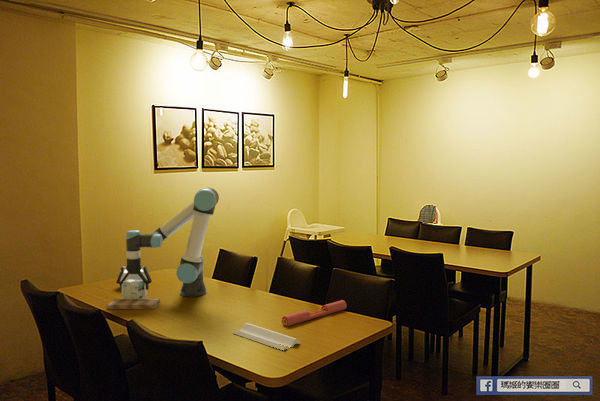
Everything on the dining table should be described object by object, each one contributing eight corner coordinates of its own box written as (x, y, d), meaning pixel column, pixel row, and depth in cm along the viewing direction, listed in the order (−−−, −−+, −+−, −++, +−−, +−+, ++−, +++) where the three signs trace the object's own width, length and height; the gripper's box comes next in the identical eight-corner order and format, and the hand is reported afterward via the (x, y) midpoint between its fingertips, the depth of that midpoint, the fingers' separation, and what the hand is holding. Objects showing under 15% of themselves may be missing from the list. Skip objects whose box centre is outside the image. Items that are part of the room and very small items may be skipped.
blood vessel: (288, 328, 231) (288, 317, 231) (281, 325, 235) (281, 315, 234) (346, 310, 260) (346, 301, 259) (339, 308, 263) (339, 299, 263)
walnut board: (160, 302, 269) (160, 298, 269) (155, 308, 258) (155, 304, 258) (114, 303, 268) (114, 299, 268) (107, 308, 257) (107, 304, 257)
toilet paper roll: (141, 290, 296) (141, 272, 295) (116, 289, 296) (116, 272, 295) (150, 283, 311) (149, 267, 310) (126, 283, 311) (125, 267, 310)
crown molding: (232, 335, 222) (232, 327, 222) (251, 328, 231) (251, 321, 231) (283, 352, 202) (283, 344, 202) (301, 344, 211) (301, 336, 211)
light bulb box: (146, 298, 276) (145, 280, 275) (138, 302, 270) (138, 283, 269) (130, 297, 280) (130, 278, 279) (122, 300, 273) (122, 281, 273)
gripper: (156, 256, 277) (157, 293, 279) (114, 256, 276) (115, 293, 278) (153, 259, 270) (154, 297, 271) (109, 259, 269) (110, 297, 270)
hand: (134, 295), depth 275 cm, fingers closed on light bulb box, 12 cm apart
